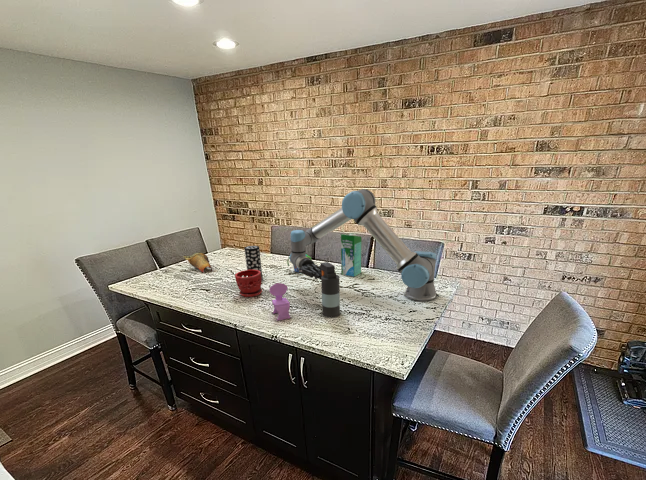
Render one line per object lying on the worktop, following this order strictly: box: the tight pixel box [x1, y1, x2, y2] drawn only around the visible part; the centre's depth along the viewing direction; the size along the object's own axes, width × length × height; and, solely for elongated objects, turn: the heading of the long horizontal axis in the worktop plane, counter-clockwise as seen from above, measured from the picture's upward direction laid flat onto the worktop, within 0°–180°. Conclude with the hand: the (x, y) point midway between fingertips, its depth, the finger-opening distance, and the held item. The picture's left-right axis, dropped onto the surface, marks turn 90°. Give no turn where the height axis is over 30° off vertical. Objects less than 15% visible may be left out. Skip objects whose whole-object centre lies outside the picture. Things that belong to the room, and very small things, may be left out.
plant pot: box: [234, 269, 263, 298], centre depth 177 cm, size 13×13×12 cm
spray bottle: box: [320, 261, 341, 318], centre depth 152 cm, size 11×8×23 cm
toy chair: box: [268, 282, 292, 321], centre depth 151 cm, size 8×9×15 cm
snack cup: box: [286, 253, 313, 273], centre depth 213 cm, size 16×10×10 cm
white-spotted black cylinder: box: [243, 245, 264, 282], centre depth 195 cm, size 8×8×20 cm
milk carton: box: [340, 232, 362, 277], centre depth 204 cm, size 9×9×25 cm
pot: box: [182, 251, 213, 273], centre depth 219 cm, size 17×11×18 cm
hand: (324, 278), depth 154 cm, fingers closed
